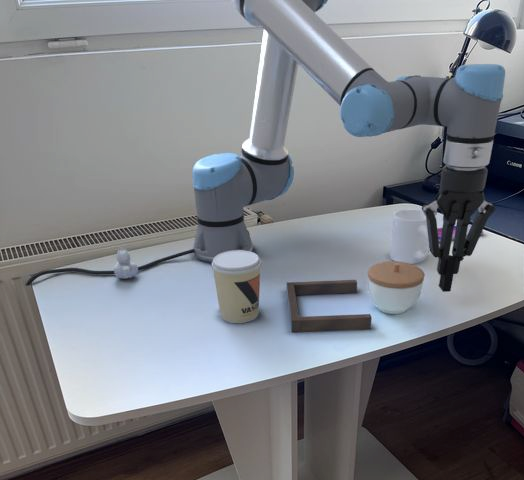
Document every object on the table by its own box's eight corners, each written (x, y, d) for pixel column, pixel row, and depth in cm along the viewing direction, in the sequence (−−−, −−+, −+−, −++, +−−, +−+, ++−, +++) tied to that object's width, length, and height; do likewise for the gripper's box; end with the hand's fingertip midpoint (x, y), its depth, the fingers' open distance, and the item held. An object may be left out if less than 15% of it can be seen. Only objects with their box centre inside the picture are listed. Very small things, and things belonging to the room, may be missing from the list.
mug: (409, 272, 117) (415, 227, 112) (382, 254, 127) (386, 211, 121) (441, 266, 119) (448, 222, 114) (412, 249, 129) (418, 207, 123)
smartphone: (484, 232, 135) (435, 240, 131) (484, 235, 135) (434, 243, 132) (467, 223, 141) (420, 230, 137) (467, 226, 141) (419, 233, 138)
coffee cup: (246, 329, 98) (242, 272, 91) (207, 318, 102) (201, 262, 96) (271, 309, 104) (269, 254, 98) (233, 300, 109) (230, 246, 102)
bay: (291, 332, 96) (291, 320, 95) (286, 292, 111) (286, 282, 109) (370, 329, 96) (371, 317, 95) (355, 290, 111) (356, 279, 109)
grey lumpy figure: (137, 271, 124) (131, 239, 119) (141, 281, 118) (135, 249, 114) (114, 275, 122) (107, 243, 118) (117, 285, 117) (110, 252, 113)
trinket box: (415, 295, 107) (420, 253, 102) (423, 320, 98) (430, 275, 93) (363, 294, 109) (366, 253, 103) (367, 319, 100) (370, 275, 95)
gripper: (434, 172, 86) (416, 298, 98) (512, 169, 86) (484, 295, 98) (421, 162, 92) (406, 282, 105) (494, 159, 92) (470, 279, 105)
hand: (444, 288), depth 101 cm, fingers closed
